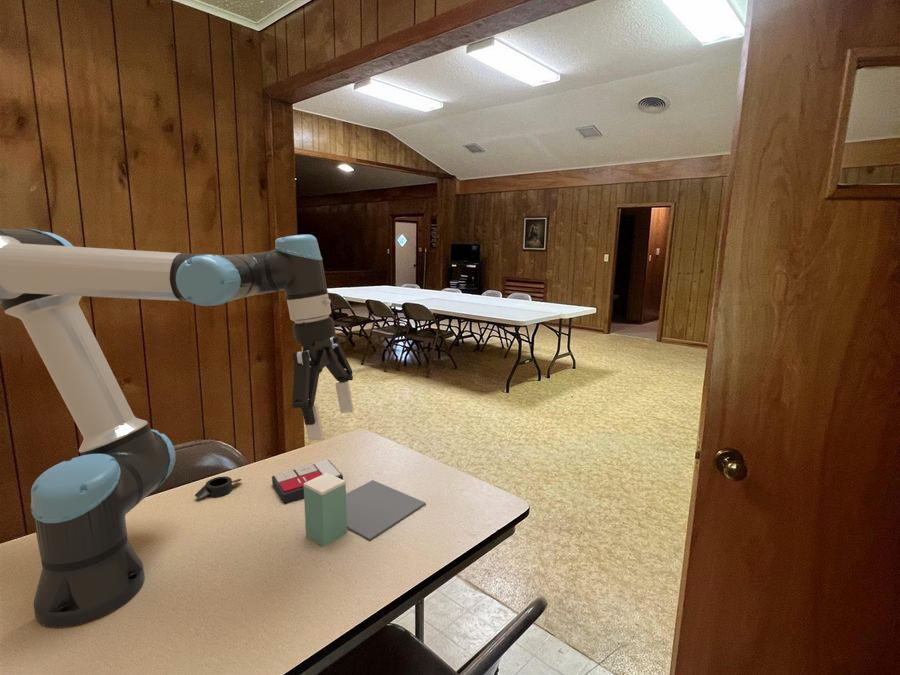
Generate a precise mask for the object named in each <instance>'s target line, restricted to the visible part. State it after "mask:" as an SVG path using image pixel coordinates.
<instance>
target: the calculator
mask: <svg viewBox="0 0 900 675" xmlns="http://www.w3.org/2000/svg"><path fill="white" fill-rule="evenodd" d="M325 473H329V474H331V475H333V476H335V477H338V478H340V479H342V480H344V476H343V474H342V473H341V472H340V471H339V470H338V468H337V467H336V466H335V465H334V464H333V463H332V462H331V461H330V460H329V459H324V460H321V461H317V462H315V463H308V464H305V465H302V466H298V467H295V468H294V469H292V468H290V469H288V470H285V471H281V472H278V473H274V474H273V475H272V476H271V482H272V487H273V489H274V490H275V493H277V495H278V497H279V499H280V500H281V503H282V504H284V505H288V504H291V503H294V502H298V501H301V500H304V484H303V483H305V482H308V481H310V480H312V479H314V478H316V477H319V476H321V475H323V474H325Z"/></svg>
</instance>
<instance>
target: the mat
mask: <svg viewBox="0 0 900 675" xmlns="http://www.w3.org/2000/svg"><path fill="white" fill-rule="evenodd" d="M426 505H427V504H426V502H425V501H423V500H420V499H418V498H416V497H413V496H411V495H409V494H407V493H404V492H402V491H399V490H398V489H394V488H393V487H389V486H388V485H385V484H383V483H380V482H378V481H375V480H374V479H372V480H370V481H368V482H366V483H364V484H362V485H360V486H359V487H357V488H354V489H352V490H350V491H349V492H346V515H347V531H348V530H349V531H350V532H352V533H354V534H356V535H358V536H360V537H362V538H363V539H365V540H367V541H369V542H371V541H373V540H374V539H376V538H377V537H379V536H380V535H382V534H384V532H386V531H388V530H389V529H391V528H393V527H394V526H395V525H397V524H398V523H400V522H402V521H404V520H405V519H406V518H407V517H409V516H411V515H412V514H414V513H415V512H417V511H418V510H420V509H422V508H423V507H424V506H426Z"/></svg>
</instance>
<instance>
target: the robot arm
mask: <svg viewBox="0 0 900 675" xmlns="http://www.w3.org/2000/svg"><path fill="white" fill-rule="evenodd" d="M274 243H275V244H274V245H275V247H274V249H271V250H268V251H261V252H253V253H252V252H251V253H244V254H208V253H207V254H203V253H181V252H168V251H153V250H135V249H120V248H103V247H102V248H101V247H100V248H99V247H88V246H87V247H86V246H85V247H83V246H74V245H73V244H72V243H71V242H69V240H67V239H65V238H64V237H62V236H60V235H58V234H56V233H53V232H50V231H49V232H47V231H41V230H38V229H33V228H21V229H17V228H0V305H1V308H2V310H3V311H4V314H5V315H9V316H12V317H14V318H16V319H19V320H21V322H22V324H23V326H24V328H25V330H26V331H27V334H28V335H29V337H30V338H31V341H32V343H33V345H34V347H35V348H36V350H37V353H38V354H39V356H40V358H41V360H42V361H43V364H44V365H45V367H46V369H47V371H48V373H49V375H50V378H51V379H52V381H53V382H54V384H55V387H56V389H57V391H58V392H59V394H60V396H61V398H62V400H63V401H64V404H65V405H66V407H67V409H68V411H69V412H70V415H71V417H72V419H73V421H74V422H75V424H76V426H77V428H78V429H79V431H80V433H81V436H82V438H83V440H82V443H81V445H80V446H79V449H78V452H79V454H80V456H75V457H73V458H71V459H70V460H67V461H66V460H64V461H61V462H59V463H57V464H55V465H53V466H51V467H49V468H48V469H47V470H45V471H43V472H42V473H41V474H40V475H39V476H38V477H37V478H36V479H35V480H34V482H33V484H32V486H31V488H30V489H31V490H30V496H31V497H30V498H31V499H30V500H31V503H30V512H31V515H32V517H33V518H32V520H33V524H34V529H35V534H36V538H37V539H36V540H37V545H38V550H39V556H40V562H41V571H40V576H39V579H38V584H37V588H36V591H35V596H34V599H33V610H34V616H35V620H36V621H37V623H39V624H41V625H42V626H45V627H49V628H67V627H73V626H77V625H82V624H85V623H89V622H92V621H94V620H96V619H99V618H101V617H104V616H106V615H108V614H110V613H112V612H113V611H115V610H117V609H118V608H120V607H122V606H124V605H125V604H126V603H127V602H129V601H130V600H131V599H132V598H133V597H135V596H136V594H138V592H139V591H140V589H141V588H142V586H143V584H144V583H145V570H144V569H145V568H144V564H143V562H142V559H140V557H139V555H138V554H137V552H136V551H135V549H134V547H133V546H132V545H131V543H130V541H129V538H128V531H127V528H128V527H127V522H126V515H127V514H128V513H130V511H132V510H133V509H134V508H135V507H137V505H139V504H140V503H141V502H143V500H144V499H145V498H146V497H148V496H149V495H150V494H151V493H152V492H154V491H156V490H157V489H159V488H160V487H161V486H162V485H163V483H164V482H165V480H166V479H167V478H168V477H169V476H170V475H171V473H172V471H173V469H174V467H175V463H176V450H175V447H174V444H173V443H172V441H171V439H169V437H168V436H167V435H166V434H165V433H160V432H159V430H156V429H152V428H151V426H150V424H149V423H148V422H149V421H148V420H145V419H141V418H138V417H137V416H135V415H134V413H133V411H132V409H131V406H130V405H129V403H128V401H127V398H126V396H125V395H124V393H123V391H122V389H121V387H120V384H119V383H118V380H117V378H116V377H115V374H114V373H113V371H112V370H113V369H111V366H110V365H109V363H108V361H107V358H106V357H105V354H104V353H103V350H102V349H101V346H100V344H99V343H98V341H97V339H96V336H95V335H94V332H93V330H92V328H91V327H90V324H89V323H88V320H87V319H86V317H85V314H84V313H83V310H82V308H81V306H80V303H79V302H80V300H81V299H82V297H90V298H91V297H94V298H95V297H96V298H114V299H117V298H118V299H133V300H152V301H153V300H155V301H174V302H175V301H177V302H178V301H179V302H189V303H191V304H193V305H197V306H201V307H211V306H221V305H225V304H226V303H228V302H233V301H235V300H239V299H243V298H247V297H252V296H257V295H264V294H268V293H278V292H282V291H284V294H285V297H286V302H287V308H288V312H289V319H290V320H291V321H293V324H292V325H291V327H292V332H293V336H294V337H293V338H294V340H295V343H298V344H301V345H302V351H294V352H293V354H292V356H293V357H292V358H293V365H294V366H293V367H294V368H293V369H294V371H293V386H292V399H291V400H292V401H291V403H292V408H293V409H301V412H302V417H303V422H304V425H305V429H306V434H307V439H308V441H323V440H324V439H325V436H324V432H323V426H322V422H321V417H320V411H319V407H318V404H315V400H316V396H317V389H318V384H319V377H320V374H321V373H322V372H323V369H324V368H325V367H326V369H327V370H328V371H329V372H330V374H331V375H332V377H334V379H335V380H336V381H337V382H335V383H334V386H335V389H336V395H337V400H338V405H339V411H340V413H341V414H345V413H349V414H350V413H353V412H354V411H355V409H354V405H353V404H354V402H353V398H352V393H351V388H350V382H349V381H353V380H354V376H353V374H354V373H353V370H352V367H351V365H350V362H349V361H348V359H347V358H348V357H347V356H346V353H345V352H344V350H343V348H342V345H341V343H340V338H339V336H337V335H336V334H337V333H336V327H335V322H334V318H332V317H331V316H330V315H332V308H331V303H332V302H331V301H332V300H331V299H330V298H329V291H328V287H327V282H326V276H325V269H324V263H323V262H324V261H323V257H322V255H321V254H322V253H321V251H320V247H319V242H318V239H317V238H316V237H315V236H314V235H312V234H296V235H295V234H294V235H288V236H284V237H279V238H276V239H275V241H274Z"/></svg>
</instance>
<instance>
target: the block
mask: <svg viewBox="0 0 900 675" xmlns="http://www.w3.org/2000/svg"><path fill="white" fill-rule="evenodd" d="M303 484H304V499H303V501H304V502H303V504H304V519H305V522H304V524H305V536H306V537H307V538H309V539H310V540H312V541H314V542H315V543H317V544H319V545H320V546H322V547H325V548H326V546H328V545H330V544H332V543H333V542H335V541H336V540H338V539H339V538H340V539H341V537H343V536H344V535H345V536H346V534H347V533H348V529H347V515H346V494H347V492H346V491H347V490H346V488H347V486H346V480H344V479H343V480H342V479H340V478H338V477H335V476H333V475H331V474H329V473H325V474H323V475H321V476H319V477H316V478H314V479H312V480H310V481H308V482H305V483H303Z"/></svg>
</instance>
